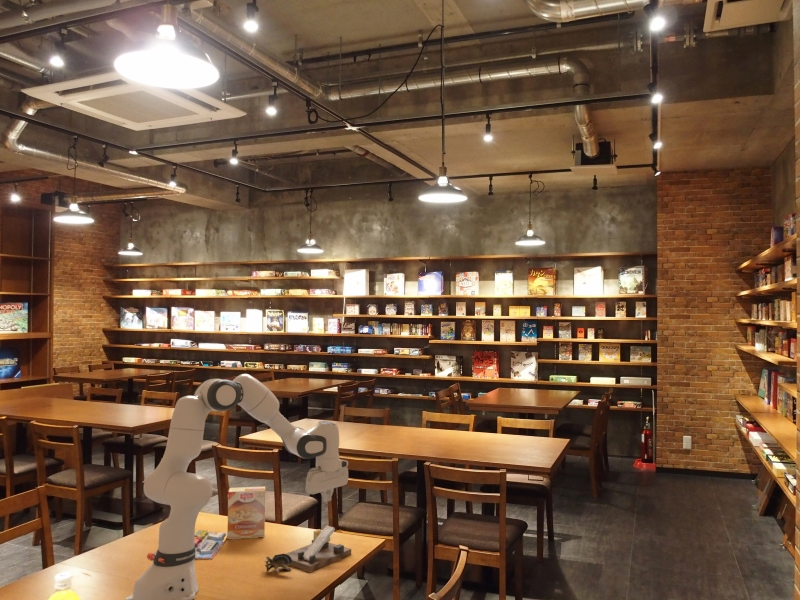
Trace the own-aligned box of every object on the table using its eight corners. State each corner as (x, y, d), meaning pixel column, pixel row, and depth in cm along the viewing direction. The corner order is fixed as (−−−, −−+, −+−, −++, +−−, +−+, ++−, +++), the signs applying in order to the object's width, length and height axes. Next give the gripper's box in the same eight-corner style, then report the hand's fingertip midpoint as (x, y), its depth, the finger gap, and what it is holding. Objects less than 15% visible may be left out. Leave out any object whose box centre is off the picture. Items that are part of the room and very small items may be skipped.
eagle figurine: (269, 575, 217) (294, 566, 221) (264, 554, 221) (288, 546, 224) (267, 580, 223) (292, 571, 227) (262, 559, 227) (286, 551, 230)
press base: (310, 572, 223) (310, 559, 223) (279, 561, 232) (279, 549, 233) (351, 554, 241) (351, 542, 241) (320, 545, 250) (321, 534, 250)
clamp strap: (310, 562, 227) (308, 560, 227) (302, 559, 229) (301, 557, 229) (335, 529, 238) (334, 527, 238) (327, 527, 240) (326, 525, 240)
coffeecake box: (227, 540, 255) (227, 491, 256) (228, 534, 262) (229, 487, 263) (264, 538, 258) (265, 490, 259) (264, 532, 265) (265, 485, 266)
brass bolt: (324, 543, 239) (324, 534, 240) (313, 540, 243) (313, 531, 243) (330, 541, 242) (330, 532, 242) (318, 537, 245) (319, 529, 246)
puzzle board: (212, 561, 234) (212, 554, 234) (150, 561, 233) (150, 554, 234) (231, 534, 265) (231, 527, 265) (176, 534, 264) (176, 528, 264)
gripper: (314, 470, 228) (313, 509, 227) (351, 461, 244) (350, 497, 244) (301, 468, 232) (301, 505, 231) (339, 458, 248) (338, 494, 248)
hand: (326, 501), depth 238 cm, fingers closed
